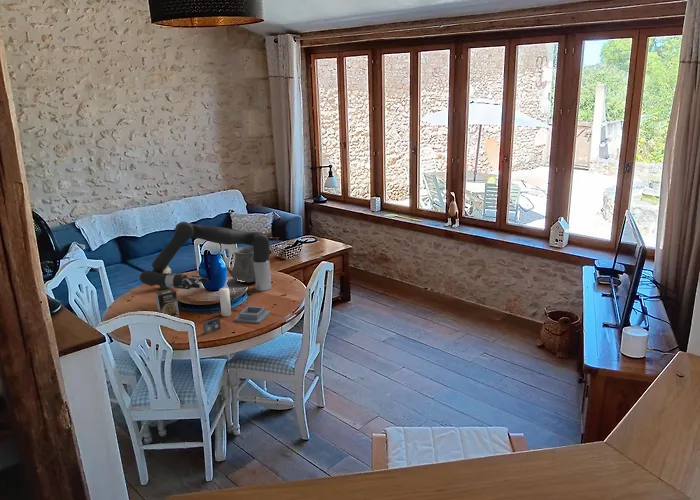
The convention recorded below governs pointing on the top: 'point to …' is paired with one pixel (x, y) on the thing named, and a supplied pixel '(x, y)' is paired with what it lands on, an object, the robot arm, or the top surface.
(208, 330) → the mini dv tape
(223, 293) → the cream canister
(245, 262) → the vessel
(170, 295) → the coffee box
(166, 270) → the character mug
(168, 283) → the robot arm
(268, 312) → the slate socket
